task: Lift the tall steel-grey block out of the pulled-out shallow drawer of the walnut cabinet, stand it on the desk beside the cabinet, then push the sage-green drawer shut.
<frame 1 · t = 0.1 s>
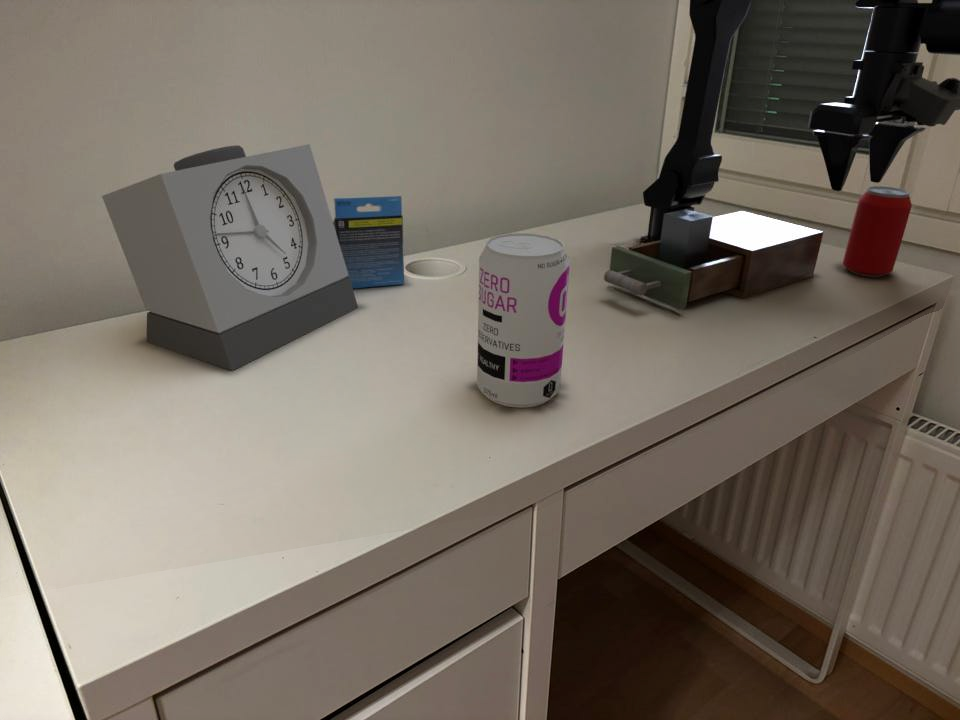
hand: (856, 186, 89), 15 cm above the table, tool pointing down, fingers open, 9 cm apart
rack drawer: (673, 269, 94), point 3 cm above the table, slide at 11.0 cm, touching steel block
beverage can: (865, 272, 105), on the table
label tape box: (370, 284, 97), on the table
supplement can: (517, 391, 70), on the table
alarm clock: (251, 323, 84), on the table
steel block: (679, 277, 95), point 2 cm above the table, touching rack drawer
cabinet: (738, 273, 103), on the table
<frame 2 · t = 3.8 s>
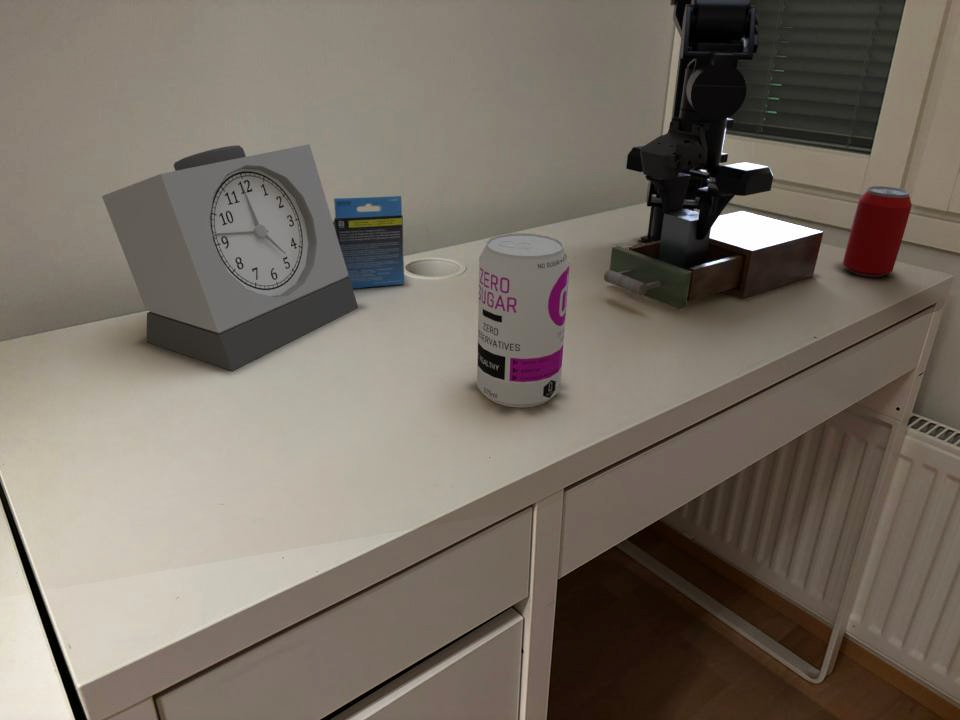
hand: (685, 234, 93), 8 cm above the table, tool pointing down, fingers closed on steel block, 4 cm apart
steel block: (679, 277, 95), point 2 cm above the table, touching gripper, rack drawer
everything else where it was.
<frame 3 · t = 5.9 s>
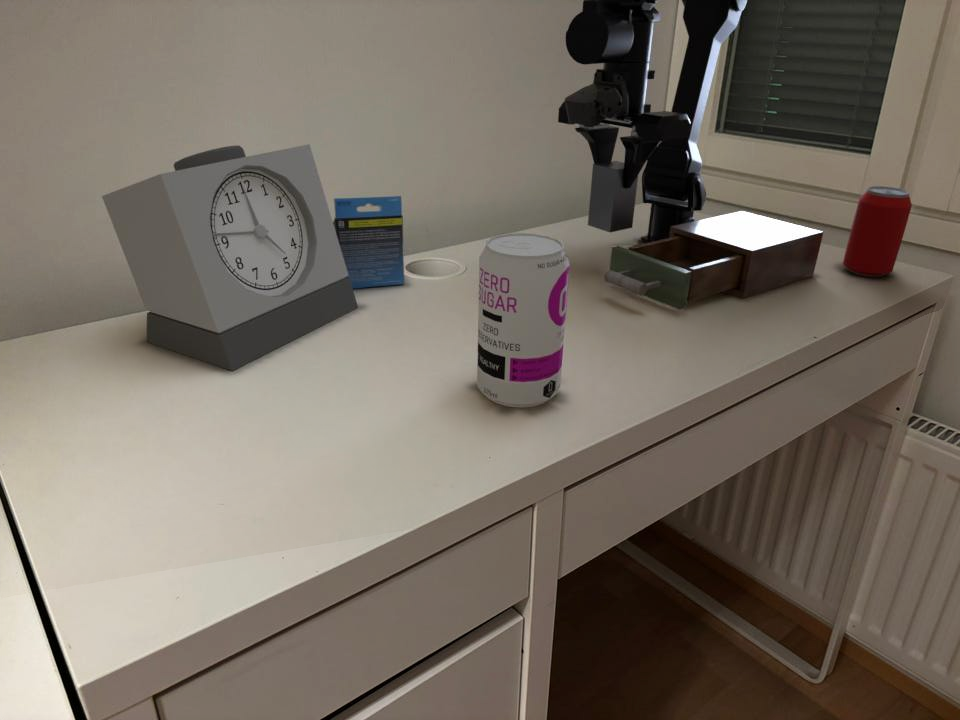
hand: (614, 184, 96), 13 cm above the table, tool pointing down, fingers closed on steel block, 4 cm apart
rack drawer: (673, 269, 94), point 3 cm above the table, slide at 11.0 cm
steel block: (609, 226, 99), point 7 cm above the table, touching gripper
everything else where it was.
when the fingers open (6 cm above the table, at t = 8.0 s): steel block stays where it is, on the table.
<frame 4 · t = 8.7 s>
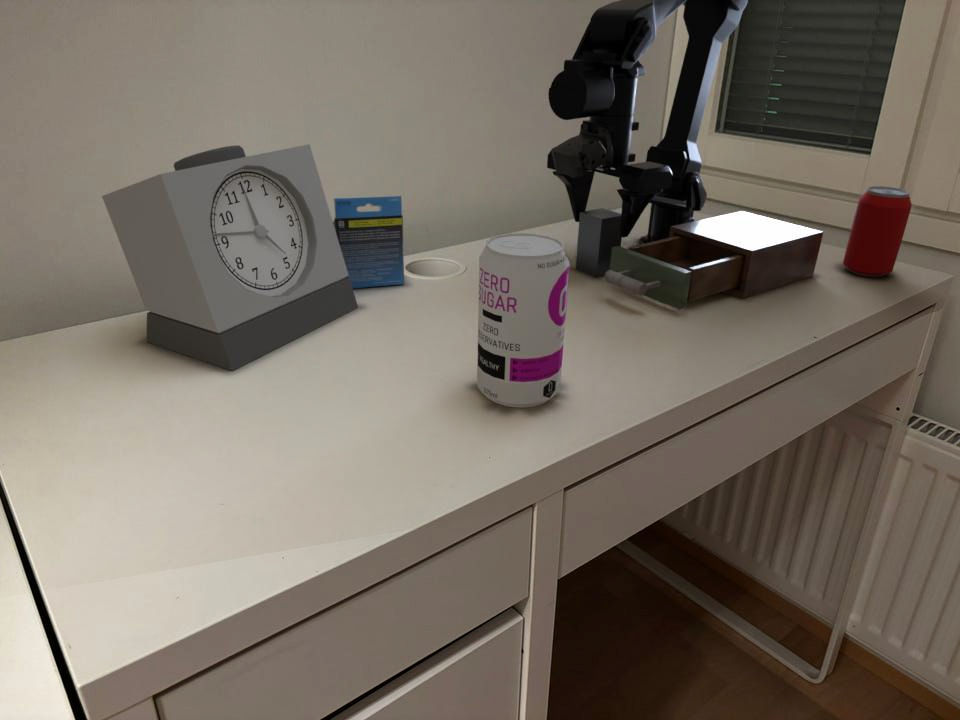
hand: (600, 229, 100), 6 cm above the table, tool pointing down, fingers open, 9 cm apart
steel block: (596, 270, 103), on the table
everything else where it was.
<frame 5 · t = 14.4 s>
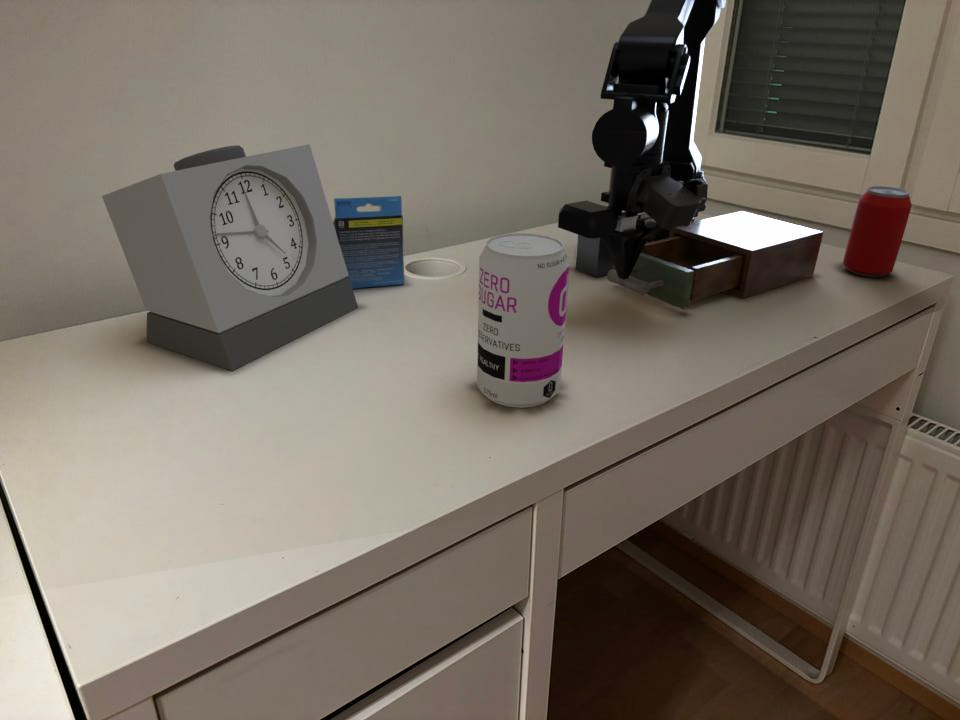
hand: (623, 278, 89), 4 cm above the table, tool pointing down, fingers closed
rack drawer: (675, 269, 94), point 3 cm above the table, slide at 10.5 cm, touching gripper
everything else where it was.
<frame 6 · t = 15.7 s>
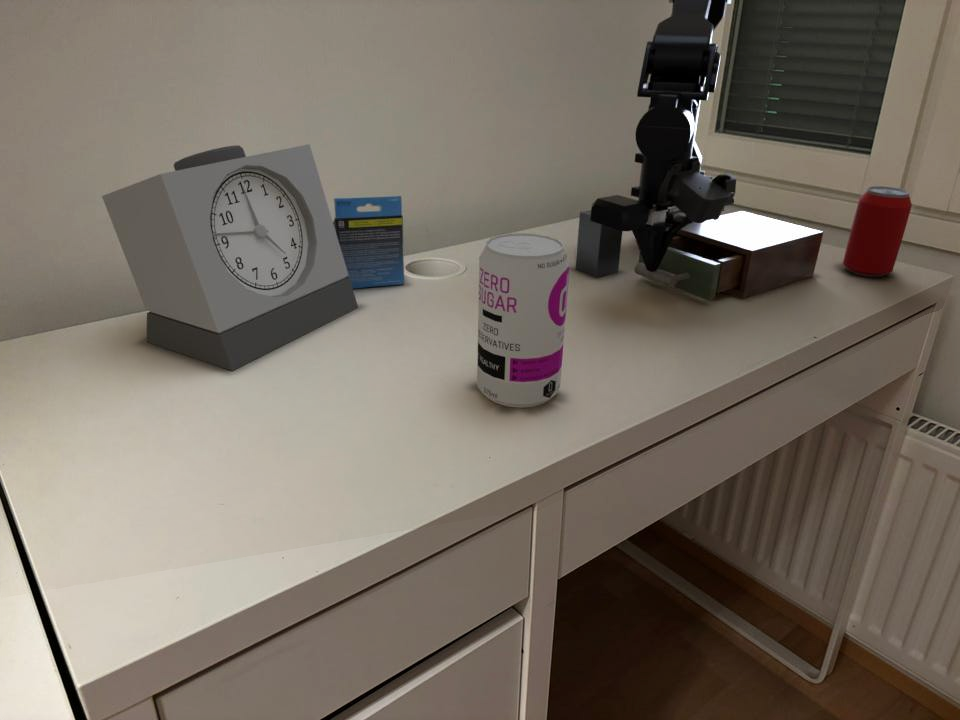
hand: (651, 270, 91), 4 cm above the table, tool pointing down, fingers closed
rack drawer: (700, 262, 97), point 3 cm above the table, slide at 5.4 cm, touching gripper
everything else where it was.
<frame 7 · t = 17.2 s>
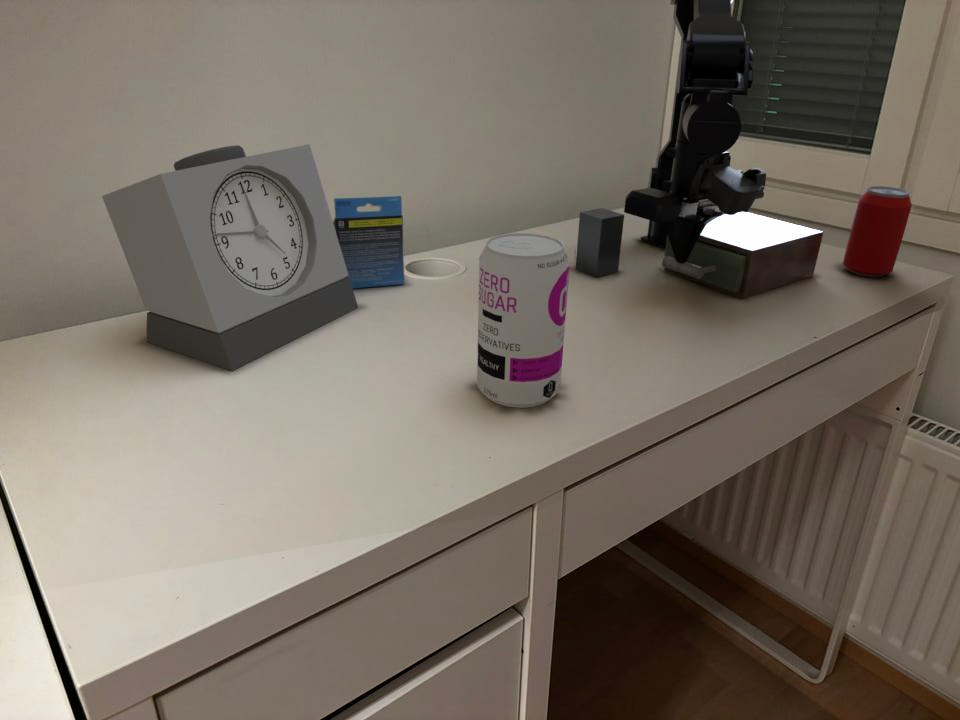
hand: (680, 262, 94), 4 cm above the table, tool pointing down, fingers closed
rack drawer: (725, 255, 100), point 3 cm above the table, slide at 0.0 cm, touching gripper
everything else where it was.
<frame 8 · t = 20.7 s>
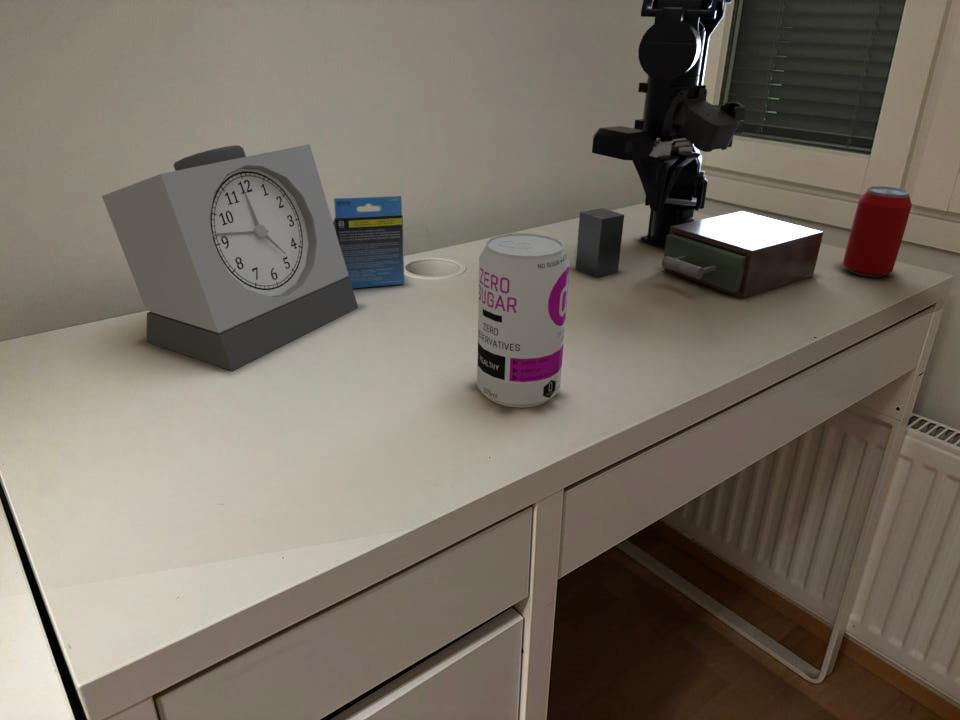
hand: (655, 210, 87), 12 cm above the table, tool pointing down, fingers closed
rack drawer: (724, 255, 100), point 3 cm above the table, slide at 0.1 cm
everything else where it was.
at the end: steel block inside the target area (0.0 cm from its centre), on the table; steel block tilted 0°; rack drawer slide at 0.1 cm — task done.
